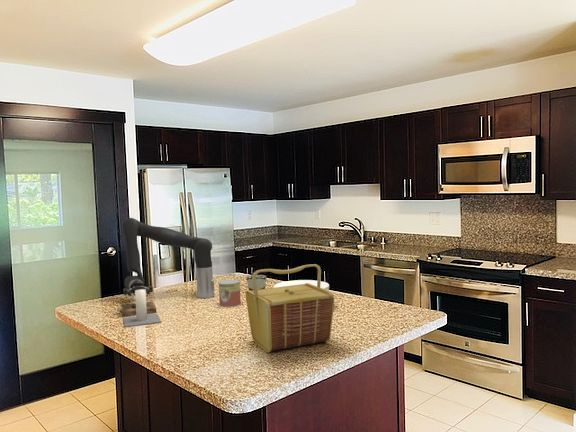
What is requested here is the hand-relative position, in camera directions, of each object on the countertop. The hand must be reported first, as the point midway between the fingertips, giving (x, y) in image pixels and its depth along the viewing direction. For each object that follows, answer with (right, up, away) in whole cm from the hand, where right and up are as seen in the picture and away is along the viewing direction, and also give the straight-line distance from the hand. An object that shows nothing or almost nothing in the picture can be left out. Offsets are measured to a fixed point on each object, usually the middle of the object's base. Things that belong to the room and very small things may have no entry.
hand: (139, 293), depth 235 cm
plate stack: (+81, -8, +6) cm, 82 cm away
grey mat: (+4, -12, -10) cm, 16 cm away
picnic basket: (+75, -12, -49) cm, 90 cm away
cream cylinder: (+4, -11, -10) cm, 15 cm away
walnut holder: (-3, -11, +9) cm, 14 cm away
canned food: (+43, -9, +17) cm, 47 cm away
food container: (+56, -7, +44) cm, 72 cm away
